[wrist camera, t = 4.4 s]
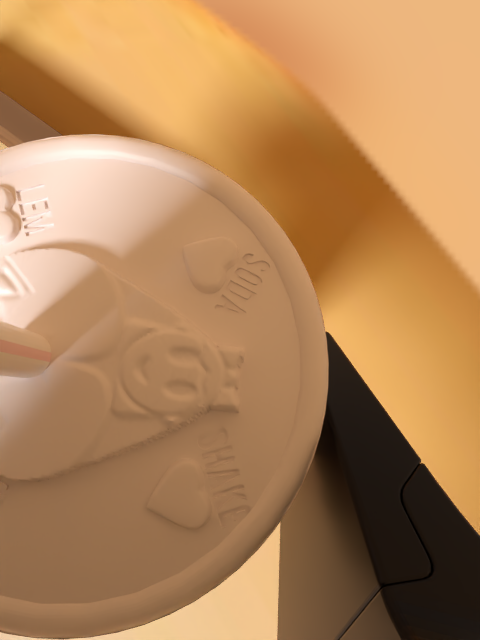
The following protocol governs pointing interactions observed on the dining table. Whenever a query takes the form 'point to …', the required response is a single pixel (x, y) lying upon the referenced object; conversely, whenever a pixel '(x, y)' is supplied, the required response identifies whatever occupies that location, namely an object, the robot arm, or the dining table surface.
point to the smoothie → (143, 382)
